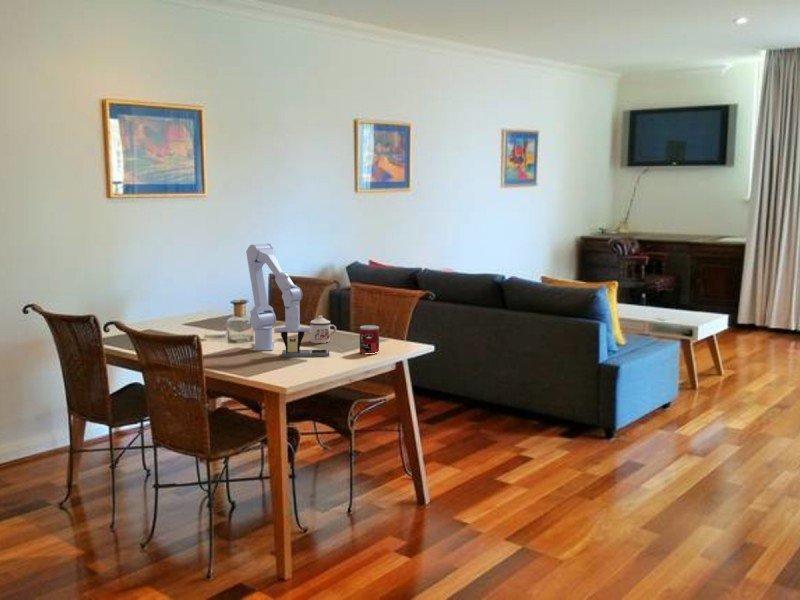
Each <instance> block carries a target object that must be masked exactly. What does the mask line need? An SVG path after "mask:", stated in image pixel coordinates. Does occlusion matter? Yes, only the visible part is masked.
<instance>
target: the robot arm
mask: <svg viewBox="0 0 800 600" xmlns="http://www.w3.org/2000/svg"><path fill="white" fill-rule="evenodd" d="M245 252H246V259H247V265H248V266H247V267H248V271H249V277H250V283H251V291H252V296H253V302H254V307H253V308H252V309H251V310H250V317H249V319H250V320H249V322H250V326H251V327H252V329H254V347H253V350H252V351H273V350H274V347H275V344H273V328H274V334H280V337H281V338H282V341H283V344H284V346H285V350H286V351H288V340H289V339H288V337H289V336H288V334H289V333H291V334H295V333H296V334H297V340H298V351H299V350H301V348H300V347H301V344H302V340H303V338H304V336H305V334H310V333H311V328H310V327H308V326H307V327H304V326H300V325H301V323H300V319H301V314H300V313H301V312H300V309H301V308H300V304H301V303H300V302H301V300H302V299H303V295H304V294H303V291H302V289H301V288H300V287H299V286H297V284H294V282H293V281H292V279H291V277H290V275H289V274H288V273H287V272H284V271H283V270H282V268H281V265H280V264H279V263H280V262H278V260H277V258H276V250H275V249H274V246H273V245H272V244H271V243H262V244H250V245H249V246H248V248H247V249H246V251H245ZM265 264H266V266H267V267H268V268H269V269H270V271H271V272H272V273H273V274H274V277H275V278H274V281H275V283H276V284H277V287H278V288H279V289H280V291H281V292H282V294H281V298H282V300H283V305H284V307H285V309H284V314H285V315H284V316H285V318H284V320H285V321H284V322H285V324H284V327H274V326H275V324H277V323H276V322H277V317H276V313H275V311H274V308H273V307H272V306H271V305H269V304H268V297H267V291H266V286H265V279H264V272H263V267H264V265H265Z"/></svg>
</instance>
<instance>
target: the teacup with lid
mask: <svg viewBox="0 0 800 600" xmlns="http://www.w3.org/2000/svg"><path fill="white" fill-rule="evenodd" d="M331 323H332V322H331V320H328V319H326V318H324V317H323V315H317V317H316V318H315V319H312V320H311V321H310V322H309V324H310V327H309V328H311V333H309V334H310V343H312V344H317V343H323V344H327V343H326V342H328V343H330V342H331V337H332V336H334V335H335V334H336V332H337V326H336V325H334V324H331ZM331 327H333V332H332V333H331ZM329 341H330V342H329Z"/></svg>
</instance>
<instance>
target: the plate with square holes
mask: <svg viewBox="0 0 800 600" xmlns="http://www.w3.org/2000/svg"><path fill="white" fill-rule="evenodd" d="M320 356H329V357H330V349H328V348H326V349H313V348H312V349H300V350H299V351H298V353H288V351H286V349H283V350H281V358H321V357H320Z"/></svg>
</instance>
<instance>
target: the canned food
mask: <svg viewBox="0 0 800 600" xmlns="http://www.w3.org/2000/svg"><path fill="white" fill-rule="evenodd" d="M378 351H380V327H379V325H375V324H373V325H371V324H370V325H369V324H368V325H361V326H360V327H359V353H360V352H361V353H375V352H378ZM361 353H360V354H361ZM378 353H379V352H378Z"/></svg>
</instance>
